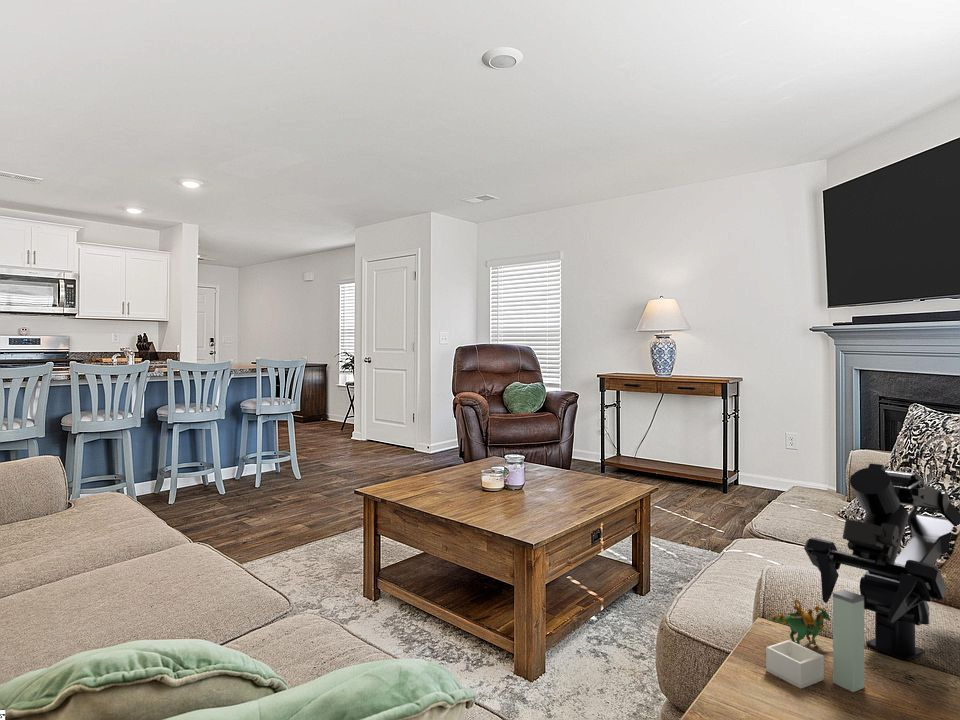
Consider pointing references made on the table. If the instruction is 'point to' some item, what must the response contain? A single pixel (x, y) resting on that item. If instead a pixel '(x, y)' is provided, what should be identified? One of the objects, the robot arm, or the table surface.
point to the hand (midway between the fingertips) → (855, 611)
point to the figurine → (803, 622)
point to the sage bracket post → (848, 640)
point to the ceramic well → (795, 663)
